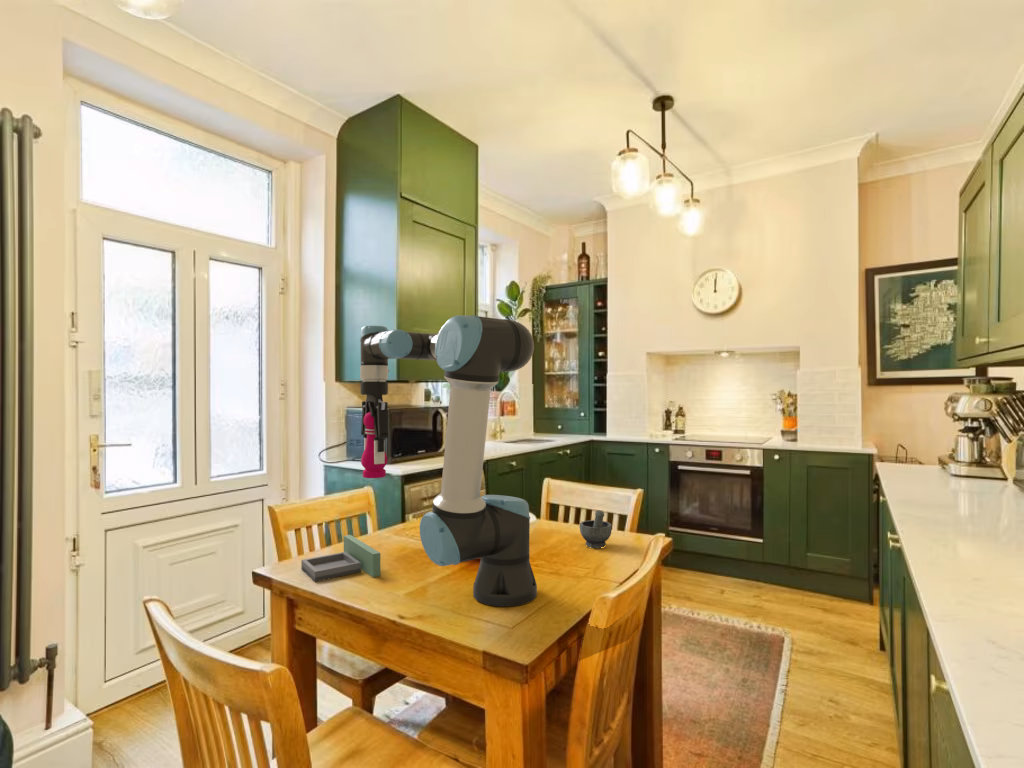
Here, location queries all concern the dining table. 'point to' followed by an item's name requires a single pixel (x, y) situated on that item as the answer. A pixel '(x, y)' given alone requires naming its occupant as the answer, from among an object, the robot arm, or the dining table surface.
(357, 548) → the board
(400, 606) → the dining table surface
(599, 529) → the mortar and pestle
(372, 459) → the pepper mill
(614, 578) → the dining table surface
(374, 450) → the robot arm
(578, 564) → the dining table surface
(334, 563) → the tray
